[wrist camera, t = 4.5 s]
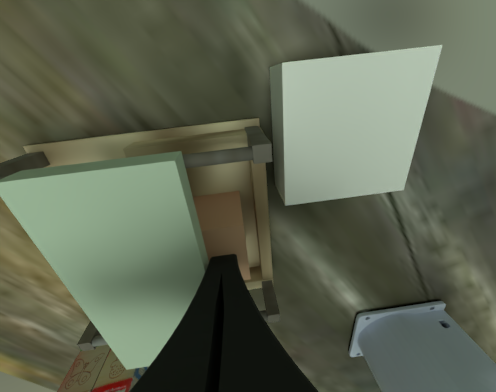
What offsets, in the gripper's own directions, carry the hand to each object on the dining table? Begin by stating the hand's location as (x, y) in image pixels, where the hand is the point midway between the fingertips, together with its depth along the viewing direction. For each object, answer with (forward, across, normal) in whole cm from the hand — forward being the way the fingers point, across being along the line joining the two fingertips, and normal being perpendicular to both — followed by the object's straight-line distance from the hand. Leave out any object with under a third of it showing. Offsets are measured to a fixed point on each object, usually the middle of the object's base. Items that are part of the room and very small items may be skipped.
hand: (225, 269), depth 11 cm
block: (+5, +1, 0) cm, 5 cm away
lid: (0, +4, 0) cm, 4 cm away
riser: (+5, -7, -6) cm, 10 cm away
